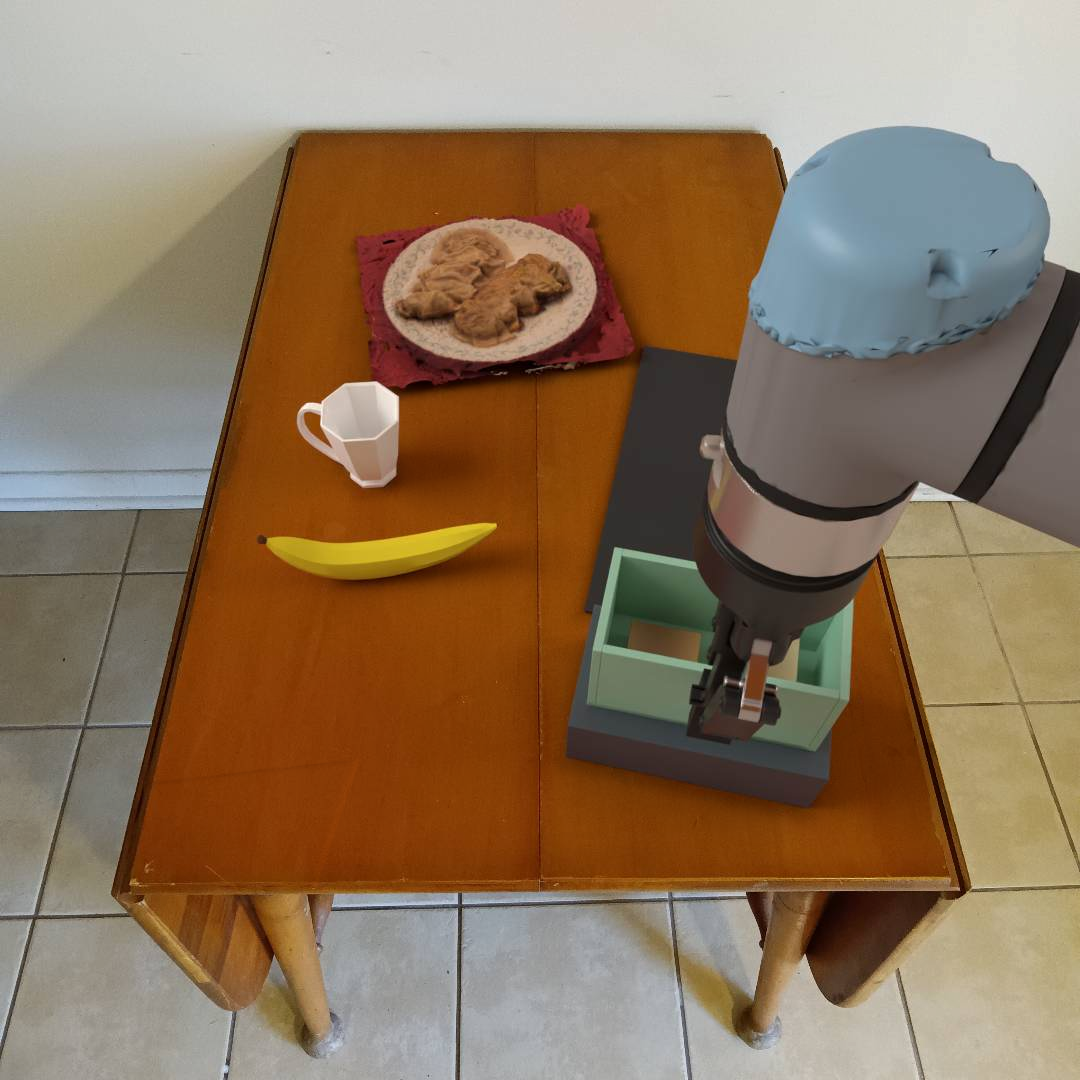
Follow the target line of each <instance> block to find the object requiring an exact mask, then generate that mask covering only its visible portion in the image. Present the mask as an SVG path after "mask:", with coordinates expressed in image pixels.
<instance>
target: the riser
mask: <svg viewBox="0 0 1080 1080" xmlns="http://www.w3.org/2000/svg"><path fill="white" fill-rule="evenodd" d="M601 608H602V606H601V605H596V604H595V605H594V608H593V613H591V617H590V623H589V626H588V632H587V636H586V641H585V646H584V649H583V654H582V658H581V663H580V667H579V672H578V676H577V677H578V678H577V682H576V685H575V686H576V687H575V691H574V695H573V700H572V705H571V710H570V714H569V719H568V724H567V732H566V733H567V734H566V747H565V748H566V750H565V757H566V758H570V759H574V760H579V761H583V762H588V763H593V764H597V765H603V766H607V767H611V768H617V769H621V770H626V771H631V772H635V773H640V774H645V775H650V776H653V777H659V778H663V779H669V780H674V781H678V782H682V783H687V784H692V785H696V786H700V787H705V788H710V789H716V790H721V791H725V792H729V793H733V794H740V795H742V796H743V795H744V796H749V797H753V798H758V799H762V800H767V801H772V802H775V803H782V804H786V805H791V806H795V807H800V808H805V809H809V808H810V806H811V805H812V804H813V802H814V801H815V800H816V798H817V797H818V796H819V794H820V792H821V791H822V790H823V789H824V787H825V786H826V785H827V783H828V782H829V781H830V769H831V768H830V767H831V749H832V731H833V726H832V727H831V729H830V731H829V732H828V734H827V735H826V737H825V738H824V740H823V741H822V743H821V744H820V746H819V747H818V749H817V750H816V752H814V751H809V750H805V749H800V748H795V747H790V746H785V745H780V744H775V743H771V742H766V741H761V740H756V739H751V738H749V739H748V740H747V741H741V740H735V739H732V741H731V743H730V745H728V744H723V743H718V742H713V741H708V740H703V739H698V738H693V737H688V736H686V732H687V725H683V724H678V723H673V722H668V721H663V720H659V719H654V718H649V717H644V716H639V715H634V714H629V713H625V712H620V711H615V710H610V709H605V708H600V707H595V706H590V705H587V699H588V690H589V680H590V671H591V661H592V652H593V646H594V641H595V637H596V632H597V627H598V622H599V618H600V613H601Z"/></svg>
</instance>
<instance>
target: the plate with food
mask: <svg viewBox="0 0 1080 1080" xmlns="http://www.w3.org/2000/svg"><path fill="white" fill-rule="evenodd" d="M590 219H591V216H590V213H589V209H588V207H586V206H585V205H584V204H581V203H580V204H578V205H576V206H575V207H572V208H571V209H570V208H568V207H566V206H564V207H563V210H561V209H559V210H557V213H551V214H540V215H535V216H527V217H524V216H522V217H521V215H514V214H506V215H504V216H501V217H498V218H494V217H493V218H490V217H488V216H483V217H482V216H481V217H480V216H478V215H474V214H472V215H469V216H468V217H467V218H464V219H462V220H461V221H460V220H457V221H455V220H453V221H450V222H449V221H447V222H446V224H445V225H441V224H438V225H435V224H432V225H431V226H429V225H422V226H421V225H420V226H417V227H416V228H414V229H404V230H401V229H400V230H399V229H397V230H394V229H391V230H389V231H387V232H386V233H385V232H381V233H380V234H375V235H373V234H370V235H364V236H363V235H355V241H356V250H357V260H358V266H359V275H360V283H361V284H360V285H361V292H362V300H363V301H362V302H363V311H364V313H365V314H366V315H367V316H368V317H369V318H370V319H369V318H365V319H364V323H365V324H367V325H369V326H370V328H371V336H372V337H370V339H369V340H368V341H367V346H368V347H367V348H368V356H369V364H370V366H369V367H370V369H371V371H372V373H373V374H371V382H376V381H377V382H378V383H380V384H381V385H382V386H384V387H385V388H389V387H398V388H400V389H405V388H406V387H407V385H409V384H412V383H416V382H420V381H421V382H422V381H428V382H429V381H430V382H432V384H433V385H435V387H437V386H438V385H445V384H448V382H449V381H454V380H458V379H460V380H464V379H473V378H477V377H482V376H486V375H491V374H493V376H494V375H495V376H496V377H499V376H501V375H504V376H507V374H508V371H506V370H505V371H499V372H498V371H497V370H491V371H480V370H482V369H485V368H488V367H489V368H490V367H491V366H495V365H502V364H509V363H514V362H517V361H521V362H525V361H533V362H534V363H533V365H534V366H537V367H534V368H529V369H526V370H525V373H528V374H530V373H532V372H535V374H538V375H541V374H542V371H543V370H549V369H550V370H551V369H553V368H554V369H559V370H561V369H563V370H565V371H568V370H569V369H571V370H574V369H575V368H577V367H580V364H582V365H583V366H586V365H587V364H588V363H591V364H592V363H595V362H602V361H606V360H607V361H608V360H617V359H619V358H622V357H624V356H625V357H628V356H629V355H630V354H631V353H632V352H634V349H636V348H637V347H636V346H635V342H634V339H633V338H632V334H631V329H630V328H629V326H628V325H627V321H626V319H625V313H622V312H621V313H620V311H621V309H622V305H620V302H619V300H618V297H617V294H616V291H615V289H614V285H613V281H612V278H611V277H610V276H608V274H607V271H606V268H605V267H606V266H607V263H605V262H604V263H603V259H602V258H603V257H602V255H601V249H600V247H599V242H598V241H597V238H596V234H595V230H594V227H587V225H588V224H589V221H590ZM391 240H392V241H393V242H389V243H385V242H387V241H391ZM386 343H388V346H389V350H388V349H387V348H386ZM538 371H540V372H538Z"/></svg>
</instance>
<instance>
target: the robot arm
mask: <svg viewBox="0 0 1080 1080" xmlns="http://www.w3.org/2000/svg"><path fill="white" fill-rule="evenodd" d="M1050 234H1051V215H1050V210H1049V208H1048V203H1047V200H1046V199H1045V197H1044V194H1043V192H1042V190H1041V188H1040V187H1039V185H1038V184H1037V182H1036V181H1035V180H1034V178H1032V176H1031V175H1030V174H1029V173H1028V172H1027V171H1026V170H1025V169H1023V168H1022V166H1020V165H1019V164H1018V163H1013V162H1008V161H1003V160H1002V161H1001V160H996V158H993V156H992V152H991V148H990V147H989V146H988V144H987V143H985V142H983V141H981V140H978V139H976V138H973V137H971V136H968V135H965V134H962V133H957V132H954V131H948V130H945V129H941V128H935V127H929V126H916V125H895V126H894V125H892V126H882V127H881V126H880V127H874V128H869V129H868V128H867V129H864V130H860V131H857V132H853V133H850V134H847V135H845V136H841V137H840V138H838V139H835V140H834V141H832V142H830V143H828V144H826V145H824V146H823V147H821V148H820V149H818V150H817V151H816V152H815V153H813V155H811V156H810V157H809V158H808V159H807V160H806V161H805V162H803V164H802V165H801V166H800V167H799V168H798V169H796V170H795V171H794V172H793V174H792V175H791V177H790V179H789V180H788V183H787V186H786V188H785V191H784V193H783V197H782V200H781V202H780V206H779V210H778V213H777V216H776V219H775V221H774V225H773V228H772V231H771V234H770V236H769V237H770V238H769V241H768V243H767V247H766V250H765V253H764V257H763V259H762V263H761V266H760V268H759V270H758V272H757V274H756V275H755V276H754V278H753V280H752V281H751V284H750V287H749V291H748V295H747V297H748V299H749V301H748V302H749V303H748V310H747V314H746V320H745V324H744V329H743V333H742V338H741V341H740V347H739V352H738V356H737V359H736V360H737V365H736V370H735V374H734V379H733V383H732V388H731V392H730V395H729V399H728V402H727V406H726V411H725V417H724V421H723V425H722V428H721V436H720V435H706V436H704V437H703V438H702V441H701V445H700V449H699V450H700V455H701V456H702V457H703V458H706V459H710V460H713V465H712V469H711V473H710V478H709V482H708V484H707V486H706V489H705V492H704V496H703V500H702V504H701V508H700V512H699V516H698V520H697V524H696V528H695V532H694V539H693V551H694V558H695V562H696V566H697V568H698V571H699V573H700V575H701V577H702V579H703V581H704V582H705V584H706V585H707V587H708V588H709V590H710V591H711V592H712V593H713V594H714V595H715V596H716V597H717V598H718V599H719V602H718V606H717V610H716V614H715V616H714V617H713V618H712V623H711V626H712V627H713V632H715V634H714V637H713V640H712V643H711V646H710V647H709V650H707V655H706V659H707V660H708V665H710V666H713V667H712V670H711V669H706V668H704V670H703V673H702V676H701V679H700V682H699V685H696V684H692V687H691V692H690V698H689V704H690V705H692V707H691V710H690V713H689V718H688V725H687V732H686V736H688V737H693V738H698V739H703V740H708V741H713V742H718V743H723V744H728V745H730V743H731V741H732V739H735V740H741V741H747V740H748V739H749V738H750V737H752V736H753V735H754V734H755V733H756V732H757V731H758V730H759V729H760V728H761V727H762V726H763V725H764V724H767V725H772V726H775V725H776V723H777V719H780V716H781V708H780V701H779V699H778V698H777V697H776V696H777V693H778V686H777V685H774V684H769V683H766V680H767V674H768V669H769V666H775V665H777V664H779V663H781V662H782V661H783V660H784V658H785V656H786V654H787V652H788V650H789V647H790V645H791V643H792V641H794V640H796V639H799V638H800V637H801V635H802V633H803V631H804V629H805V627H807V626H810V625H813V624H816V623H819V622H821V621H824V620H826V619H828V618H830V617H832V616H834V615H836V614H837V613H839V612H840V611H841V610H843V609H844V608H845V607H846V606H847V605H848V604H849V603H850V602H851V601H852V599H853V598H854V599H855V597H856V595H857V594H858V592H859V591H860V588H861V587H862V585H863V583H864V581H865V579H866V578H867V576H868V574H869V572H870V571H871V568H872V567H873V565H874V563H875V562H876V560H877V558H878V555H879V553H880V552H881V549H882V548H883V547H884V546H885V544H886V543H887V542H888V540H889V539H890V538H891V536H892V534H893V532H894V530H895V529H896V527H897V525H898V523H899V521H900V520H901V518H902V516H903V515H904V512H905V511H906V509H907V507H908V506H909V503H910V501H911V500H912V498H913V496H914V494H915V493H916V491H917V488H918V487H919V485H920V483H921V484H923V485H926V486H928V487H930V488H932V489H935V490H936V491H937V490H938V491H940V492H942V493H945V494H947V495H952V496H954V497H957V498H959V499H962V500H963V501H967V502H969V503H970V504H974V505H975V506H978V507H980V508H983V509H985V510H987V511H990V512H993V513H995V514H997V515H1000V516H1002V517H1005V518H1007V519H1009V520H1012V521H1014V522H1016V523H1019V524H1021V525H1023V526H1026V527H1028V528H1031V529H1033V530H1036V531H1038V532H1040V533H1043V534H1045V535H1047V536H1050V537H1052V538H1055V539H1057V540H1060V541H1062V542H1064V543H1067V544H1068V545H1072V546H1073V547H1076V548H1079V549H1080V272H1078V271H1076V270H1072V269H1069V268H1067V267H1066V266H1063V265H1061V264H1057V263H1055V262H1052V261H1049V260H1046V259H1045V258H1046V255H1045V250H1046V247H1047V245H1048V242H1049V239H1050Z"/></svg>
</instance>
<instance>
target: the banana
mask: <svg viewBox="0 0 1080 1080" xmlns="http://www.w3.org/2000/svg"><path fill="white" fill-rule="evenodd" d="M498 527H499V524H498V523H495V522H494V523H490V522H480V523H479V522H478V523H472V524H465V525H457V526H452V527H451V526H450V527H445V528H441V529H435V530H431V531H427V532H422V533H415V534H410V535H404V536H397V537H392V538H391V537H390V538H385V539H376V540H369V541H357V542H356V541H355V542H323V541H319V540H311V539H307V538H301V537H294V536H274V537H265V536H264V535H263V534H259V535H257V537H256V541H257V544H258V545H265V546H266V547H267V549H269V550H270V551H271V552H272V553H273V554H274V555H275V556H276V557H278V558H279V559H280V560H282V561H283V562H285V563H287V564H288V565H290V566H292V567H294V568H296V569H298V570H300V571H303V572H305V573H308V574H310V575H314V576H318V577H321V578H327V579H335V580H346V581H347V580H349V581H350V580H351V581H356V580H373V579H380V578H386V577H387V578H388V577H394V576H397V575H402V574H407V573H408V574H409V573H411V572H415V571H419V570H422V569H426V568H430V567H432V566H435V565H438V564H441V563H445V562H447V561H448V560H451V559H453V558H455V557H457V556H460V555H461V554H463V553H464V552H466V551H467V550H470V548H472V547H474V546H475V545H477V544H479V543H480V542H481V541H482V540H484V539H485V538H487V537H488V536H489V535H490V534H492V533H493V532H494V531H495V530H497V529H498Z"/></svg>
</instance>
